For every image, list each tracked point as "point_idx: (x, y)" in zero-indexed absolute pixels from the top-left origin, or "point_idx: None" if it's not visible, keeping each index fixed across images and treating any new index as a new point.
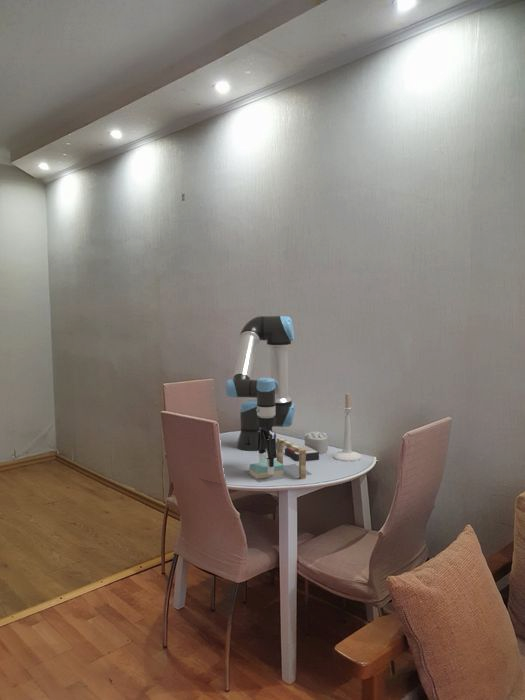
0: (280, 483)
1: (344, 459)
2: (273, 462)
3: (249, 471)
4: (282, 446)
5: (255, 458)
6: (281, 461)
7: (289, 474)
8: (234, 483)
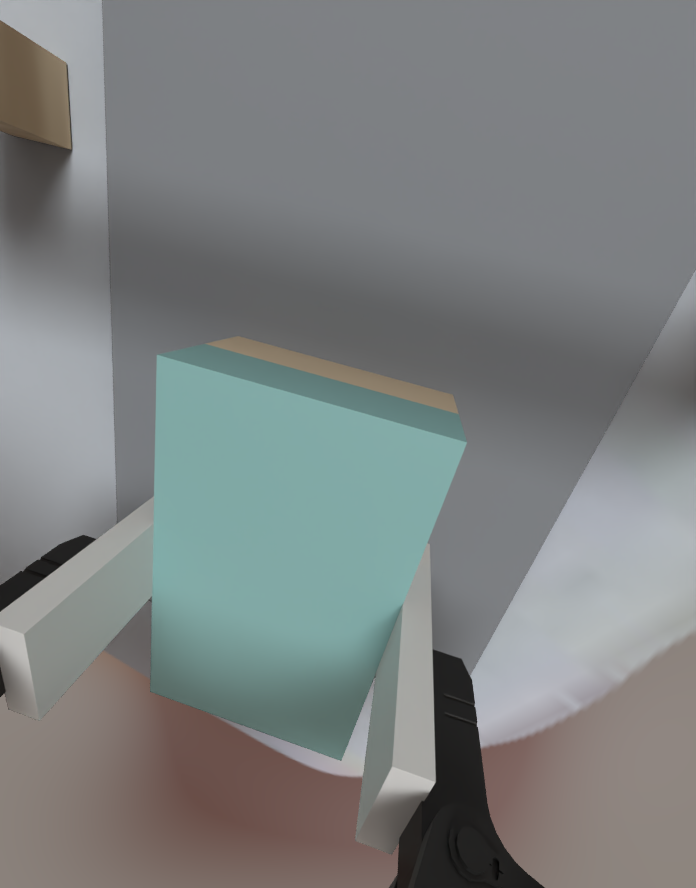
0: (627, 593)
1: None
2: (478, 741)
3: None
4: None
5: None
6: (2, 56)
7: (510, 325)
8: (328, 767)
